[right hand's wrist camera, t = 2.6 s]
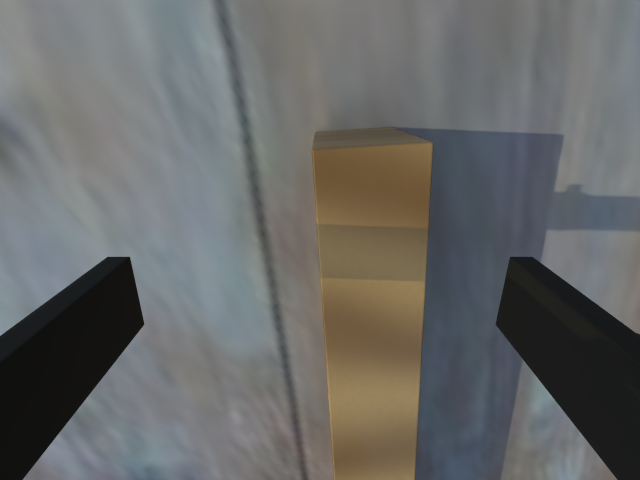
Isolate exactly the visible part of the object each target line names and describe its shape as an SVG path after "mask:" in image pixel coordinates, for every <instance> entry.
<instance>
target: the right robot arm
mask: <svg viewBox="0 0 640 480" xmlns="http://www.w3.org/2000/svg"><path fill="white" fill-rule="evenodd" d="M143 325H144V321H143V316H142V311H141V307H140V302H139V297H138V293H137V288H136V283H135V279H134V274H133V269H132V265H131V260H130V257H107V258H106V259H104V260H103V261H101V262H100V263H99V264H97V265H96V266H95V267H93V268H92V269H91V270H89V271H88V272H87V273H85V274H84V275H82V276H81V277H80V278H78V279H77V280H76V281H74V282H73V283H72V284H70V285H69V286H68V287H66V288H65V289H63V290H62V291H61V292H59V293H58V294H57V295H55V296H54V297H53V298H51V299H50V300H49V301H47V302H46V303H44V304H43V305H42V306H40V307H39V308H38V309H36V310H35V311H34V312H32V313H31V314H30V315H28V316H27V317H25V318H24V319H23V320H21V321H20V322H19V323H17V324H16V325H15V326H13V327H12V328H11V329H9V330H8V331H6V332H5V333H4V334H2V335H1V336H0V480H23V478H24V477H25V476H26V474H27V473H28V472H29V471H30V469H31V468H32V467H33V466H34V464H35V463H36V462H37V460H38V459H39V458H40V457H41V455H42V454H43V453H44V452H45V450H46V449H47V448H48V446H49V445H50V444H51V443H52V441H53V440H54V439H55V438H56V436H57V435H58V434H59V432H60V431H61V430H62V429H63V427H64V426H65V425H66V423H67V422H68V421H69V420H70V418H71V417H72V416H73V415H74V413H75V412H76V411H77V409H78V408H79V407H80V406H81V404H82V403H83V402H84V401H85V399H86V398H87V397H88V395H89V394H90V393H91V392H92V390H93V389H94V388H95V387H96V385H97V384H98V383H99V381H100V380H101V379H102V378H103V376H104V375H105V374H106V373H107V371H108V370H109V369H110V367H111V366H112V365H113V364H114V362H115V361H116V360H117V359H118V357H119V356H120V355H121V353H122V352H123V351H124V350H125V348H126V347H127V346H128V345H129V343H130V342H131V341H132V339H133V338H134V337H135V336H136V334H137V333H138V332H139V330H140V329H141V328H142V327H143ZM496 325H497V327H498V328H499V329H500V330H501V332H502V333H503V334H504V336H505V337H506V338H507V339H508V341H509V342H510V343H511V345H512V346H513V347H514V348H515V350H516V351H517V352H518V353H519V355H520V356H521V357H522V359H523V360H524V361H525V362H526V364H527V365H528V366H529V367H530V369H531V370H532V371H533V373H534V374H535V375H536V376H537V378H538V379H539V380H540V381H541V383H542V384H543V385H544V387H545V388H546V389H547V390H548V392H549V393H550V394H551V395H552V397H553V398H554V399H555V401H556V402H557V403H558V404H559V406H560V407H561V408H562V409H563V411H564V412H565V413H566V415H567V416H568V417H569V418H570V420H571V421H572V422H573V423H574V425H575V426H576V427H577V429H578V430H579V431H580V432H581V434H582V435H583V436H584V438H585V439H586V440H587V441H588V443H589V444H590V445H591V446H592V448H593V449H594V450H595V452H596V453H597V454H598V455H599V457H600V458H601V459H602V460H603V462H604V463H605V464H606V466H607V467H608V468H609V469H610V471H611V472H612V473H613V474H614V476H615V477H616V478H617V480H640V334H638V333H635V332H634V331H632V330H631V329H629V328H628V327H627V326H625V325H624V324H623V323H621V322H620V321H619V320H617V319H616V318H615V317H613V316H612V315H610V314H609V313H608V312H606V311H605V310H604V309H602V308H601V307H600V306H598V305H597V304H596V303H594V302H593V301H591V300H590V299H589V298H587V297H586V296H585V295H583V294H582V293H581V292H579V291H578V290H577V289H575V288H574V287H572V286H571V285H570V284H568V283H567V282H566V281H564V280H563V279H562V278H560V277H559V276H558V275H556V274H555V273H553V272H552V271H551V270H549V269H548V268H547V267H545V266H544V265H543V264H541V263H540V262H539V261H537V260H536V259H534V258H533V257H510V260H509V265H508V269H507V274H506V279H505V283H504V288H503V293H502V297H501V302H500V307H499V311H498V316H497V321H496Z"/></svg>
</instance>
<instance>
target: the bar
mask: <svg viewBox="0 0 640 480" xmlns="http://www.w3.org/2000/svg"><path fill="white" fill-rule="evenodd" d="M432 158H433V142H430V141H427V140H425V139H422V138H419V137H417V136H414V135H411V134H409V133H406V132H404V131H401V130H398V129H396V128H393V127H387V128H371V129H355V130H339V131H324V132H315V135H314V141H313V147H312V162H313V177H314V192H315V207H316V221H317V236H318V251H319V266H320V280H321V295H322V310H323V325H324V339H325V354H326V369H327V384H328V398H329V413H330V428H331V443H332V457H333V472H334V480H415V468H416V450H417V432H418V414H419V395H420V377H421V359H422V341H423V322H424V304H425V286H426V268H427V250H428V231H429V213H430V195H431V177H432Z"/></svg>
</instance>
